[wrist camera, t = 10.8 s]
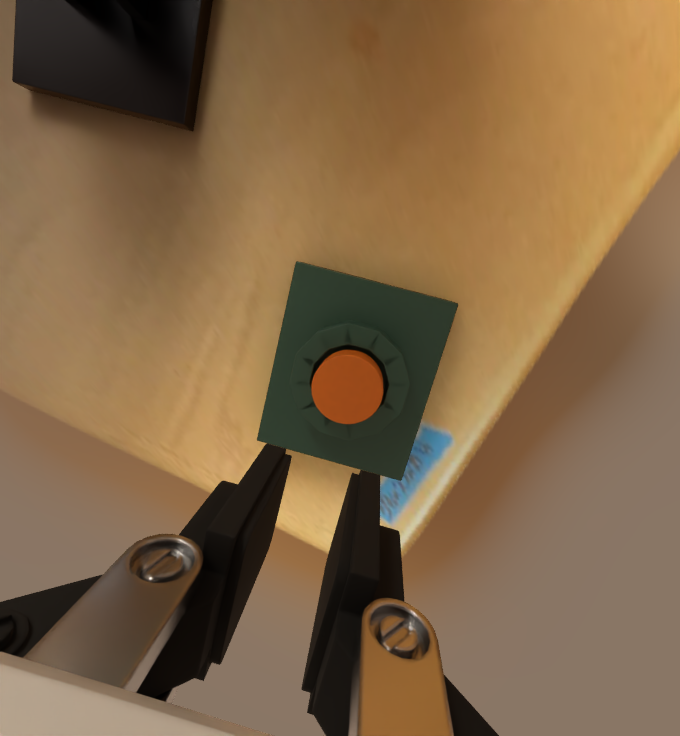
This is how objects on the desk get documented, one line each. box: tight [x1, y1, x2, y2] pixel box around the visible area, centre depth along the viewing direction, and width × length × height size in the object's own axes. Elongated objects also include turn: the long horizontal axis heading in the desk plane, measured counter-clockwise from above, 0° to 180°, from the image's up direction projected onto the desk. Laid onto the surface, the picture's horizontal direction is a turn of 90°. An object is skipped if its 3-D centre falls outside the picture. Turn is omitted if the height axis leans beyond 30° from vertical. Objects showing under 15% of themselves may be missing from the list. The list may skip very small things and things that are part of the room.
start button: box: [311, 350, 383, 424], centre depth 23 cm, size 4×4×2 cm
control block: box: [257, 261, 458, 481], centre depth 26 cm, size 12×10×4 cm
